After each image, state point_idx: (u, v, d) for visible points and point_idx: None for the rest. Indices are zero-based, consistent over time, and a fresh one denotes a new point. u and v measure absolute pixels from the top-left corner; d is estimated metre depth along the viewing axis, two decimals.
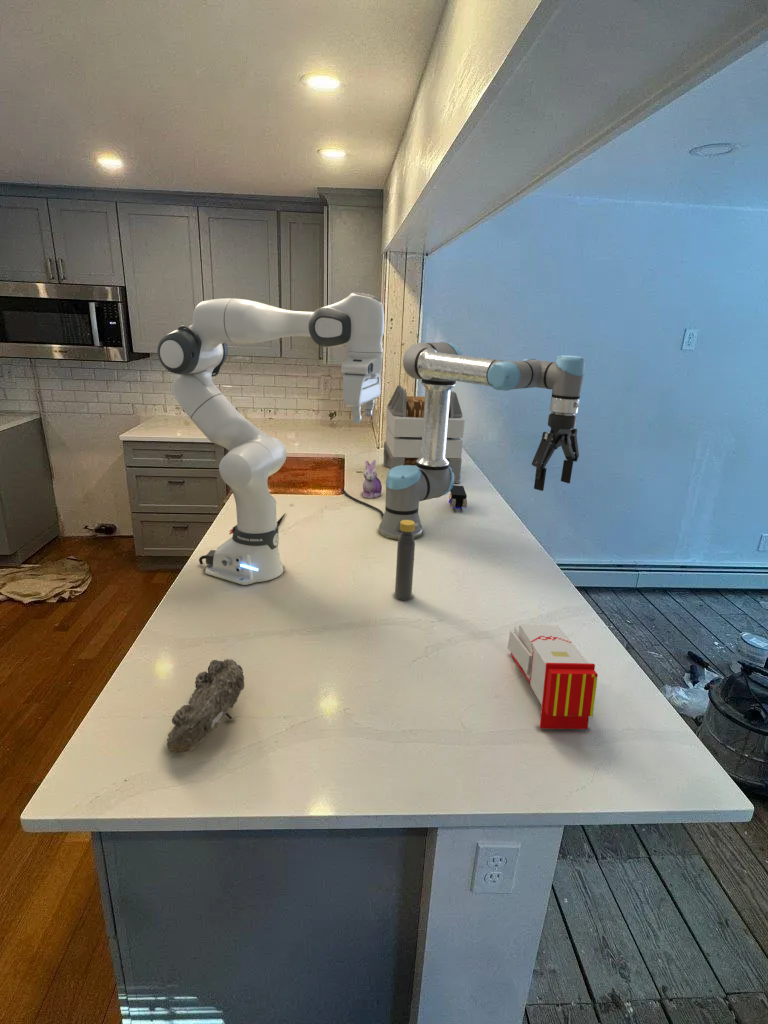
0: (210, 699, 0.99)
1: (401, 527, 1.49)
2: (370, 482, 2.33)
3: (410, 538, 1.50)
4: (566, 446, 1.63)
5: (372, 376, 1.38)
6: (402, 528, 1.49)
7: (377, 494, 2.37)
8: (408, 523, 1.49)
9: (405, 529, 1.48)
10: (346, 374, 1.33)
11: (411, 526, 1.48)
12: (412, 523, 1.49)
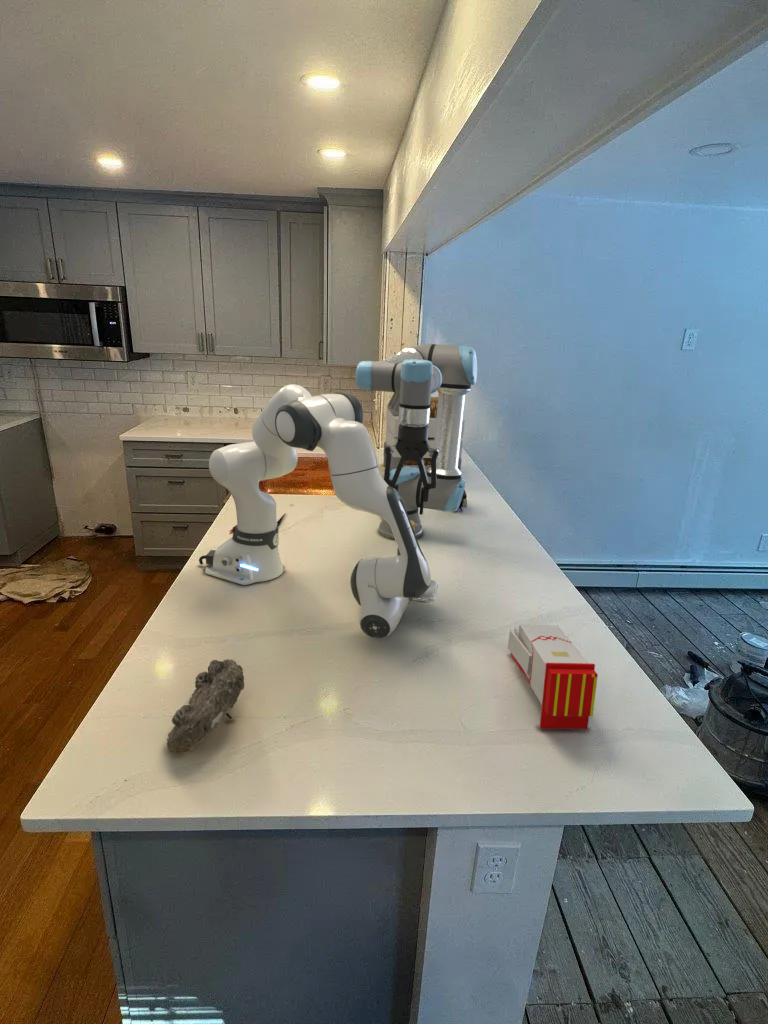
0: (210, 699, 0.99)
1: None
2: None
3: None
4: None
5: None
6: None
7: None
8: None
9: None
10: None
11: None
12: (412, 523, 1.49)
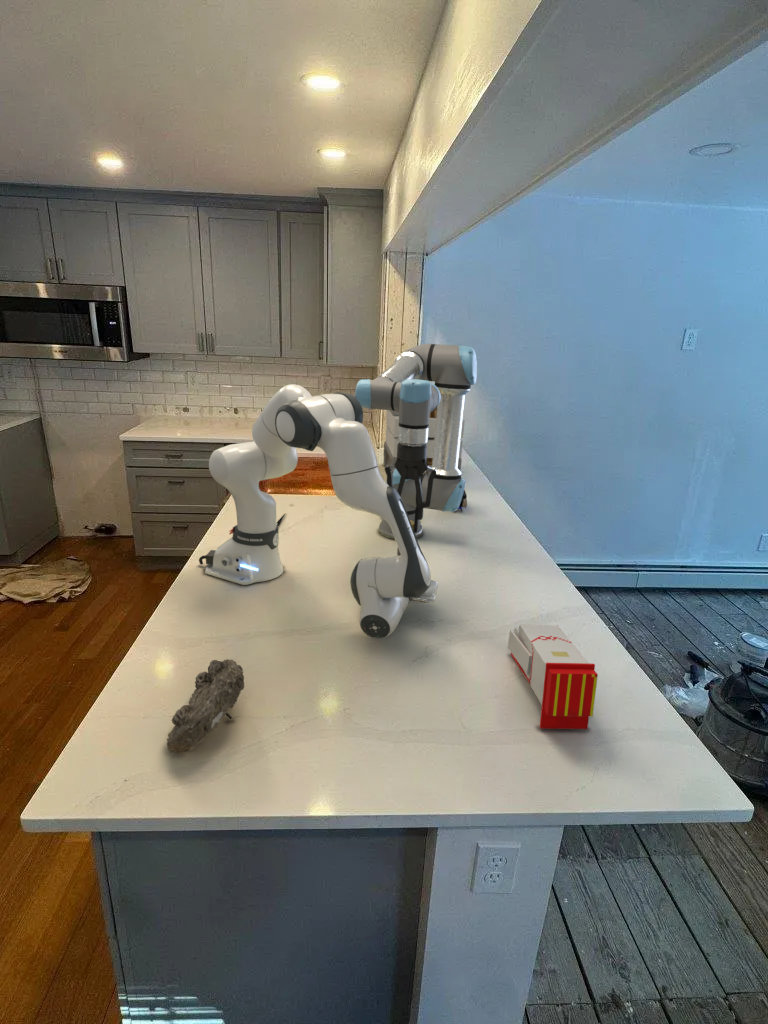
0: (210, 699, 0.99)
1: None
2: None
3: None
4: (404, 481, 1.47)
5: None
6: None
7: None
8: None
9: None
10: None
11: None
12: (412, 523, 1.49)
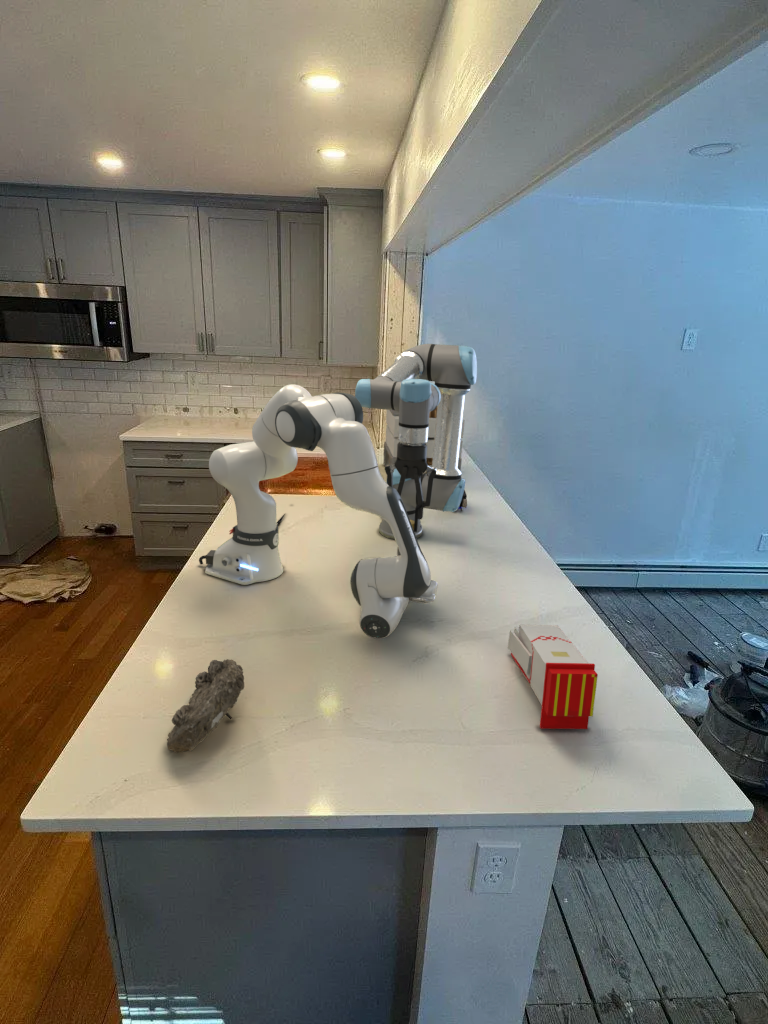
0: (210, 699, 0.99)
1: None
2: None
3: None
4: None
5: None
6: None
7: None
8: None
9: None
10: None
11: None
12: None
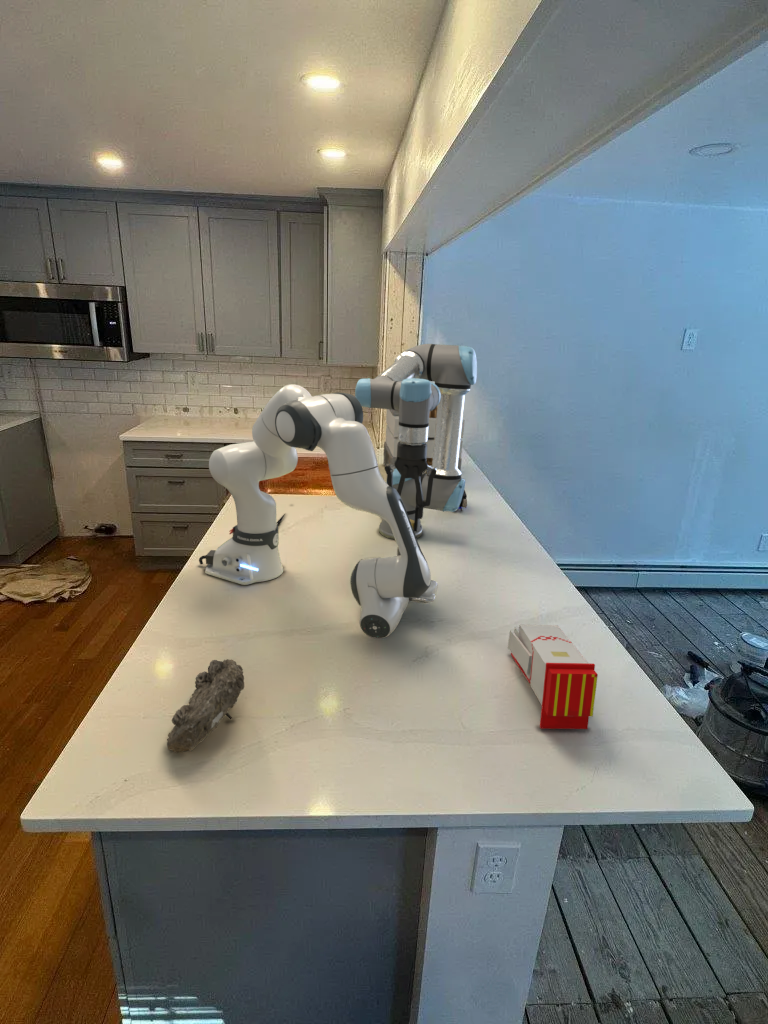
0: (210, 699, 0.99)
1: None
2: None
3: None
4: (404, 480, 1.46)
5: None
6: None
7: None
8: None
9: None
10: None
11: None
12: None
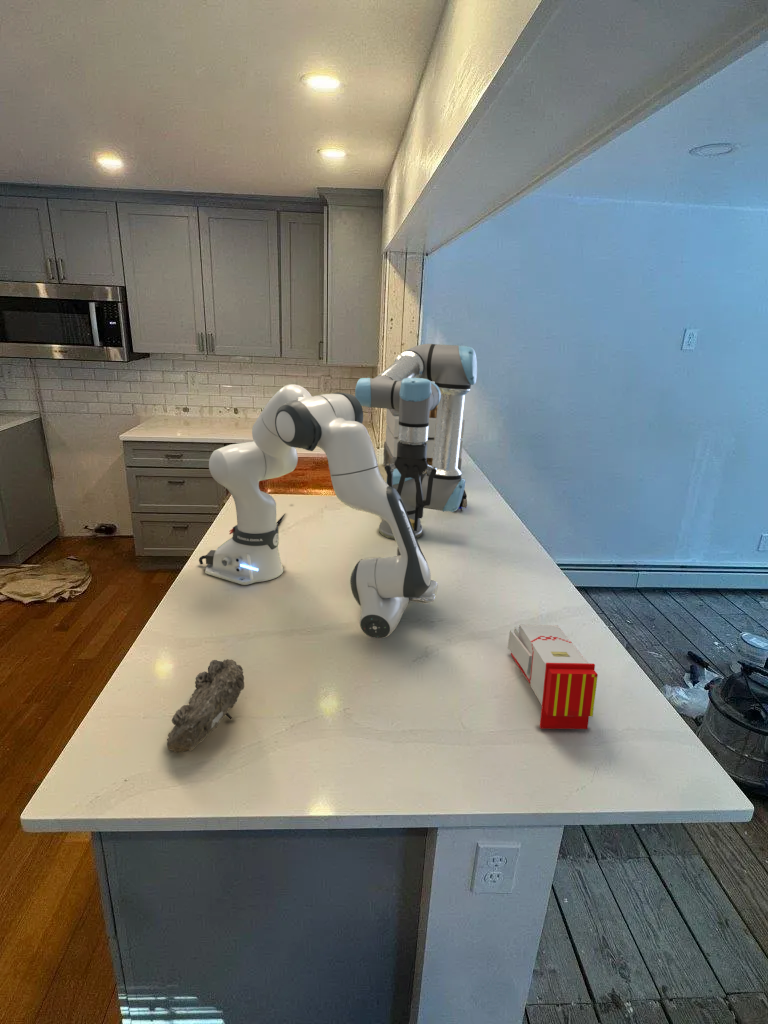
0: (210, 699, 0.99)
1: None
2: None
3: None
4: None
5: None
6: None
7: None
8: None
9: None
10: None
11: None
12: (412, 522, 1.49)
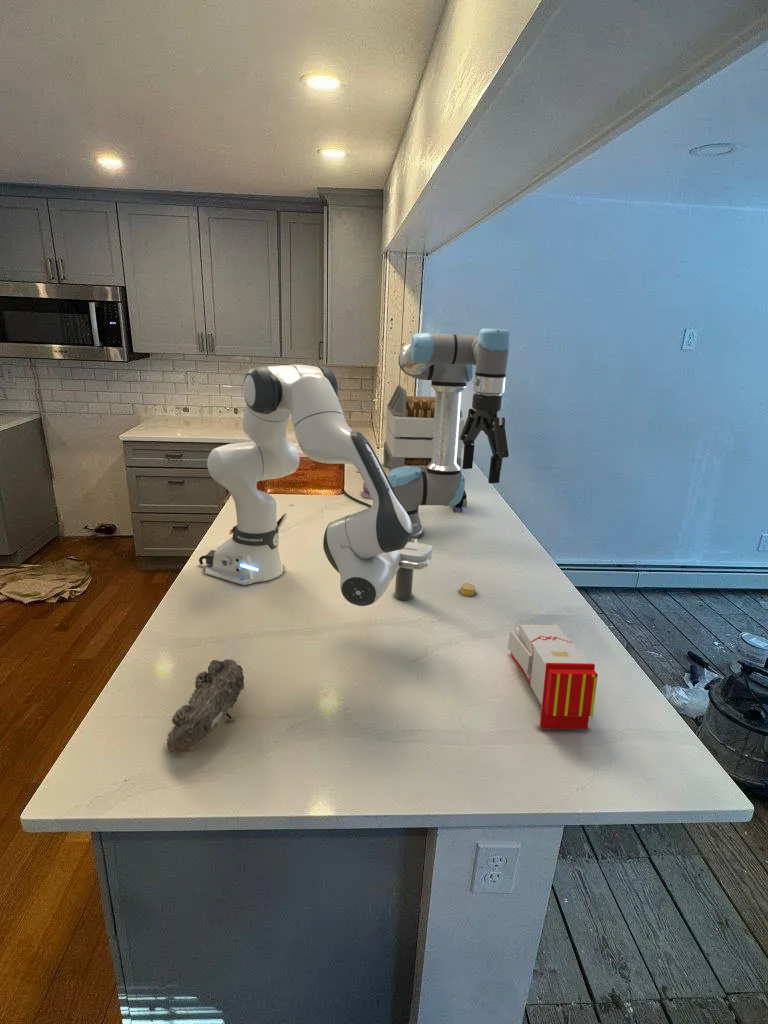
0: (210, 699, 0.99)
1: (474, 591, 1.59)
2: None
3: (410, 538, 1.50)
4: None
5: None
6: (474, 591, 1.60)
7: None
8: (470, 585, 1.60)
9: None
10: None
11: None
12: (467, 584, 1.61)
